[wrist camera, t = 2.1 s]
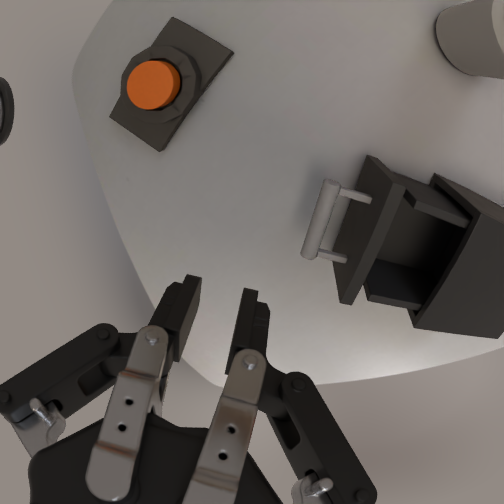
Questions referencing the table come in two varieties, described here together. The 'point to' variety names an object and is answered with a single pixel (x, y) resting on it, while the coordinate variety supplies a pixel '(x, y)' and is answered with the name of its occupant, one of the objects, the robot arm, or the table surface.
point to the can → (474, 37)
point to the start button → (153, 84)
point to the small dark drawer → (388, 236)
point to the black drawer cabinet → (469, 273)
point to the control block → (191, 81)
